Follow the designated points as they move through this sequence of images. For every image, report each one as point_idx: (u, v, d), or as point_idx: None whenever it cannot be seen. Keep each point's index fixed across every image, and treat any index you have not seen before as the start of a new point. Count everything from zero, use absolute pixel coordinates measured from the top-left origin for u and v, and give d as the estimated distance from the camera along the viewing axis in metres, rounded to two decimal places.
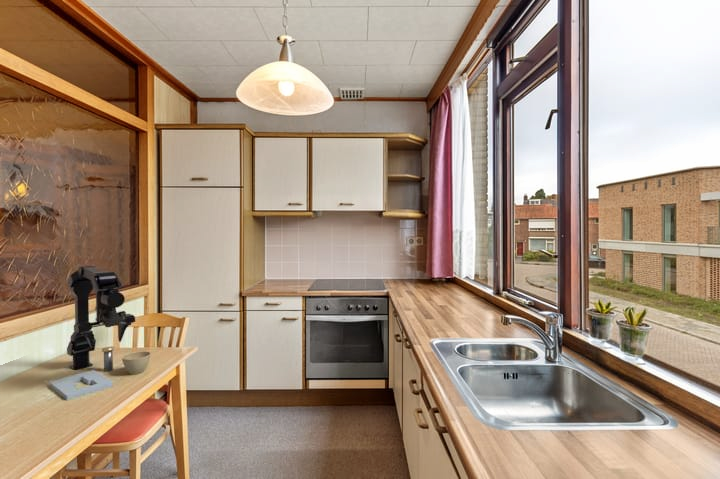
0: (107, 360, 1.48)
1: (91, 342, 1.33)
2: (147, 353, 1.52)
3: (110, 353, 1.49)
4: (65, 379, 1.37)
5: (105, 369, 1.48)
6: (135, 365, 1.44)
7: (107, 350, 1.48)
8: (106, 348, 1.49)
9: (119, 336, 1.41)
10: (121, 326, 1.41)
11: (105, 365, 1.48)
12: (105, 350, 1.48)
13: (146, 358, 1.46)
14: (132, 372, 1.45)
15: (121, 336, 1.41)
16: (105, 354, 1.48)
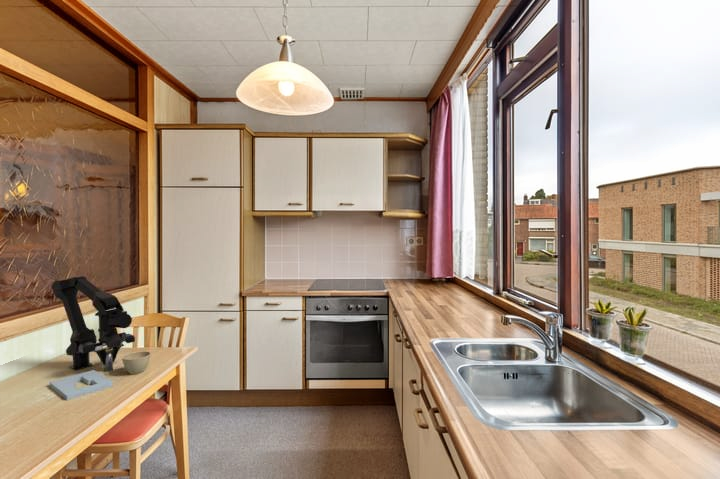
0: (107, 360, 1.48)
1: (103, 359, 1.47)
2: (147, 353, 1.52)
3: (110, 353, 1.49)
4: (65, 379, 1.37)
5: (105, 369, 1.48)
6: (135, 365, 1.44)
7: (107, 350, 1.48)
8: (106, 348, 1.49)
9: None
10: (114, 347, 1.51)
11: (105, 365, 1.48)
12: (105, 350, 1.48)
13: (146, 358, 1.46)
14: (132, 372, 1.45)
15: (114, 357, 1.51)
16: (105, 354, 1.48)
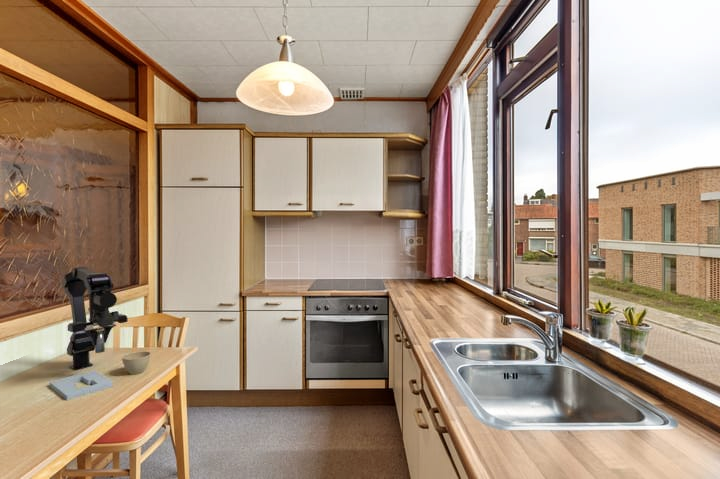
0: (98, 340, 1.41)
1: (94, 340, 1.40)
2: (147, 353, 1.52)
3: (101, 333, 1.42)
4: (65, 379, 1.37)
5: (96, 350, 1.41)
6: (135, 365, 1.44)
7: (98, 330, 1.40)
8: (97, 328, 1.42)
9: (104, 338, 1.43)
10: (105, 328, 1.43)
11: (96, 346, 1.41)
12: (96, 330, 1.40)
13: (146, 358, 1.46)
14: (132, 372, 1.45)
15: (106, 337, 1.43)
16: (96, 334, 1.41)
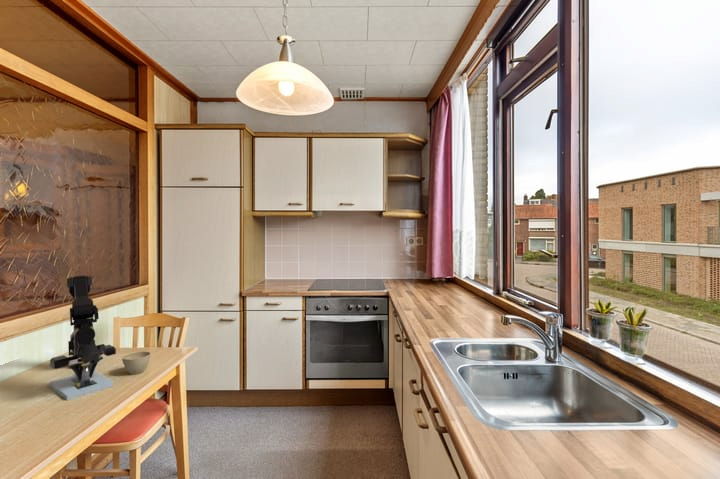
0: (84, 375, 1.31)
1: (78, 375, 1.30)
2: (147, 353, 1.52)
3: (87, 367, 1.32)
4: (65, 379, 1.37)
5: (81, 386, 1.31)
6: (135, 365, 1.44)
7: (83, 364, 1.31)
8: (82, 362, 1.32)
9: (90, 371, 1.34)
10: (92, 361, 1.34)
11: (81, 381, 1.31)
12: (81, 364, 1.30)
13: (146, 358, 1.46)
14: (132, 372, 1.45)
15: (92, 372, 1.34)
16: (81, 369, 1.31)
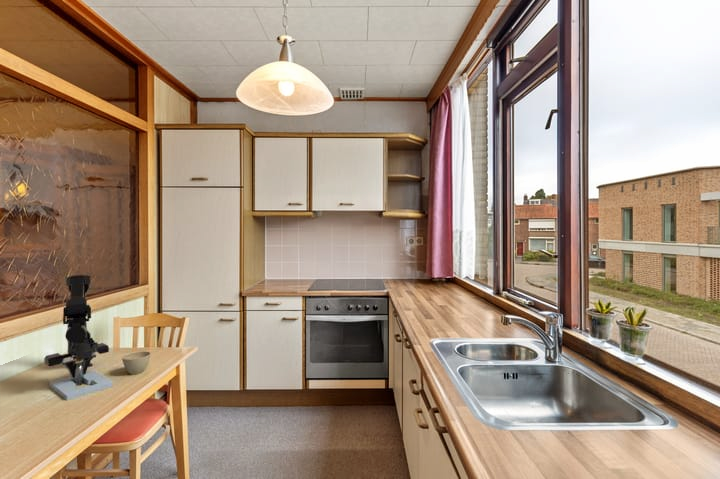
0: (77, 372, 1.35)
1: (72, 372, 1.34)
2: (147, 353, 1.52)
3: (80, 365, 1.36)
4: (65, 379, 1.37)
5: (75, 382, 1.35)
6: (135, 365, 1.44)
7: (77, 362, 1.35)
8: (76, 359, 1.36)
9: None
10: (85, 359, 1.38)
11: (75, 378, 1.35)
12: (75, 362, 1.35)
13: (146, 358, 1.46)
14: (132, 372, 1.45)
15: (85, 369, 1.38)
16: (75, 366, 1.35)
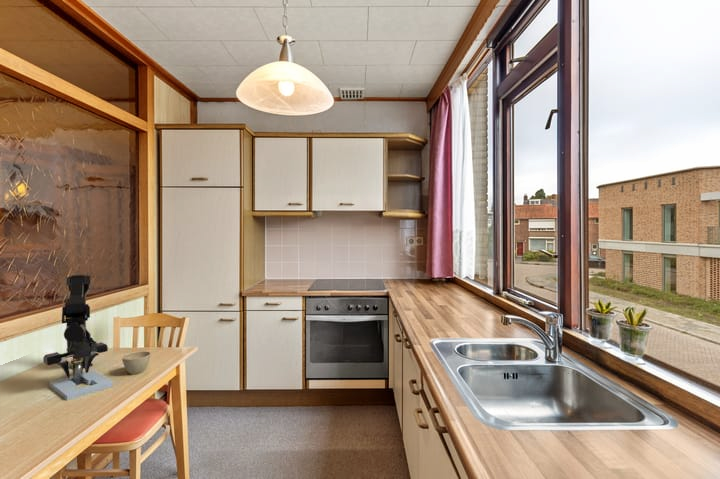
0: (76, 372, 1.36)
1: (67, 372, 1.34)
2: (147, 353, 1.52)
3: (79, 365, 1.36)
4: (65, 379, 1.37)
5: (74, 382, 1.36)
6: (135, 365, 1.44)
7: (76, 361, 1.35)
8: (75, 359, 1.36)
9: (86, 367, 1.39)
10: (88, 357, 1.39)
11: (74, 378, 1.36)
12: (74, 361, 1.35)
13: (146, 358, 1.46)
14: (132, 372, 1.45)
15: (88, 367, 1.39)
16: (74, 366, 1.35)
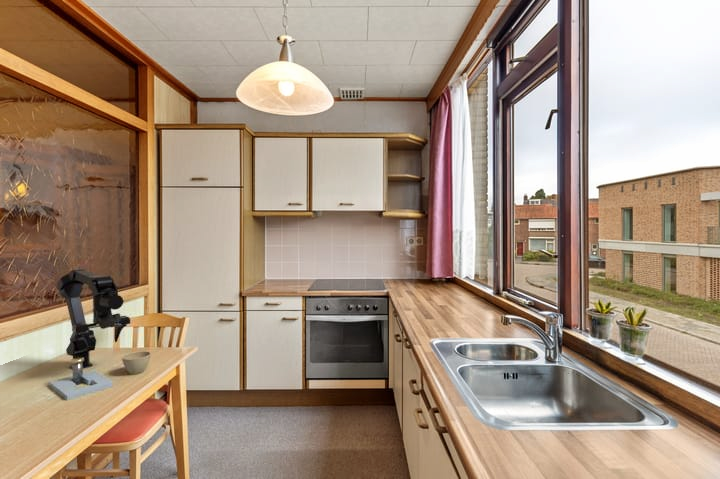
0: (76, 372, 1.36)
1: (88, 342, 1.42)
2: (147, 353, 1.52)
3: (79, 365, 1.36)
4: (65, 379, 1.37)
5: (74, 382, 1.36)
6: (135, 365, 1.44)
7: (76, 361, 1.35)
8: (75, 359, 1.36)
9: (115, 337, 1.50)
10: (117, 327, 1.50)
11: (74, 378, 1.36)
12: (74, 361, 1.35)
13: (146, 358, 1.46)
14: (132, 372, 1.45)
15: (117, 337, 1.49)
16: (74, 366, 1.36)
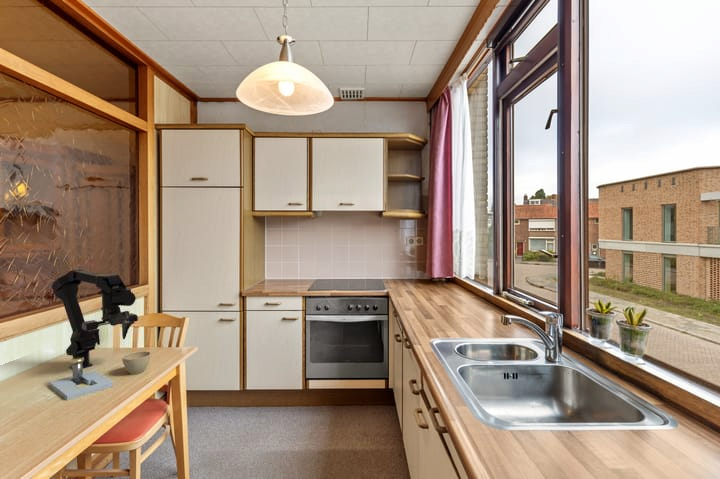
0: (76, 372, 1.36)
1: (98, 339, 1.45)
2: (147, 353, 1.52)
3: (79, 365, 1.36)
4: (65, 379, 1.37)
5: (74, 382, 1.36)
6: (135, 365, 1.44)
7: (76, 361, 1.35)
8: (75, 359, 1.36)
9: (123, 334, 1.53)
10: (125, 325, 1.53)
11: (74, 378, 1.36)
12: (73, 361, 1.35)
13: (146, 358, 1.46)
14: (132, 372, 1.45)
15: (125, 334, 1.53)
16: (74, 366, 1.35)
